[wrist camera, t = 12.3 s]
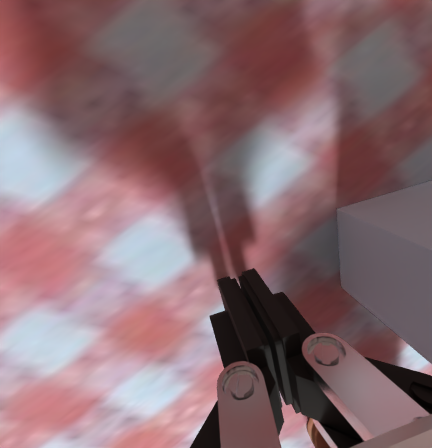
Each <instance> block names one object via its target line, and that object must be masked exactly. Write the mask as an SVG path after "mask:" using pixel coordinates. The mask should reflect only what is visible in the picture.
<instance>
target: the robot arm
mask: <svg viewBox="0 0 432 448" xmlns="http://www.w3.org/2000/svg"><path fill="white" fill-rule="evenodd" d="M238 278H239V283H240V286H239V284H238V283H237V281H236V279H235V278H233V279H230V277H229V276H228V277H225V278H222V279H219V280H217V282H218V286H219V290H220V293H221V297H222V301H223V304H224V308H225V311H223V312H220V313H217V314H214V315H211V316H210V320H211V324H212V327H213V331H214V334H215V338H216V341H217V345H218V348H219V352H220V355H221V359H222V363H223V366H224V370H223V371H222V372H221V373H220V375H219V378H218V380H217V397H218V400H217V402H216V404H215V405H214V407H213V409H212V411H211V412H210V414H209V416H208V417H207V419H206V421H205V423H204V424H203V426H202V428H201V429H200V431H199V433H198V435H197V436H196V438H195V440H194V441H193V443H192V445H191V447H190V448H281V444H280V440H279V434H280V431H281V428H282V425H283V423H284V419H283V414H282V410H281V407H282V402H281V398H280V393H281V395H282V398H283V400H284V402H285V404H286V405H289V404H292V406H293V408H294V410H295V412H296V414H297V413H299V412H301V413H302V414H303V415H305V416H307V417H310V418H312V419H313V422H314V424H315V426H316V428H317V429H318V431H319V432H320V433H321V435H322V436H323V438H324V439H325V440H326V442H327V443H328V445H329V446H330V447H331V448H432V376H430V375H428V374H424V373H421V372H417V371H413V370H410V369H406V368H402V367H399V366H395V365H391V364H388V363H384V362H381V361H377V360H373V359H370V358H366V357H363V356H362V355H361V354H360V353H358V352H357V351H356V350H355V349H354V348H353V347H351V346H350V345H349V344H348V343H347V342H346V341H344V340H343V339H342V338H340V337H339V336H336V335H333V334H330V333H315V332H314V331H313V329H312V328H311V327H310V326H309V324H308V323H307V322H306V320H305V319H304V318H303V317H302V315H301V314H300V313H299V311H298V310H297V309H296V308H295V306H294V305H293V304H292V303H291V301H290V300H289V299H288V297H287V296H286V295H285V294H284V293H283V292H279V293H276V294H272V293H271V291H270V290H269V288H268V287H267V285H266V284H265V283H264V281H263V280H262V278H261V277H260V275H259V274H258V273H257V271H256V270H255V269H254V268H253V269H250V270H247V271H244V272H242V276H240V277H238ZM240 287H241V288H240ZM279 391H280V393H279Z"/></svg>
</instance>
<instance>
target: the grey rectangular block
mask: <svg viewBox="0 0 432 448" xmlns="http://www.w3.org/2000/svg"><path fill="white" fill-rule="evenodd" d="M336 211H337V228H338V244H339V261H340V277H341V288H343V289H344V290H345V291H346V292H347V293H348V294H350V295H351V296H352V297H353V298H354V299H356V300H357V301H358V302H359V303H360V304H361V305H363V306H364V307H365V308H366V309H367V310H369V311H370V312H371V313H372V314H373V315H374V316H376V317H377V318H378V319H379V320H380V321H382V322H383V323H384V324H385V325H386V326H387V327H389V328H390V329H391V330H392V331H393V332H394V333H396V334H397V335H398V336H399V337H400V338H402V339H403V340H404V341H405V342H406V343H407V344H409V345H410V346H411V347H412V348H413V349H415V350H416V351H417V352H418V353H419V354H420V355H422V356H423V357H424V358H425V359H426V360H428V361H429V362H430V363H431V364H432V180H431V181H428V182H425V183H421V184H418V185H414V186H411V187H408V188H404V189H401V190H398V191H394V192H391V193H388V194H384V195H381V196H378V197H374V198H371V199H368V200H364V201H361V202H357V203H354V204H351V205H347V206H344V207H341V208H337V209H336Z"/></svg>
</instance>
